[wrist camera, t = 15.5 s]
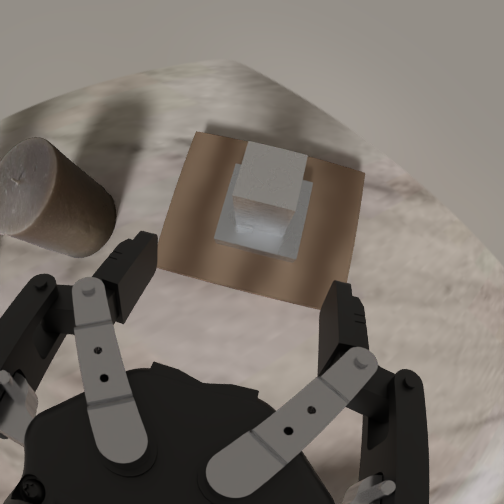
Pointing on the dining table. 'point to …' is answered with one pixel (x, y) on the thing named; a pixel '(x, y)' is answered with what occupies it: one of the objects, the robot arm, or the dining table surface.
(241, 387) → the robot arm
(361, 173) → the walnut plinth
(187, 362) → the dining table surface
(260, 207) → the block
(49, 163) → the pillar candle
